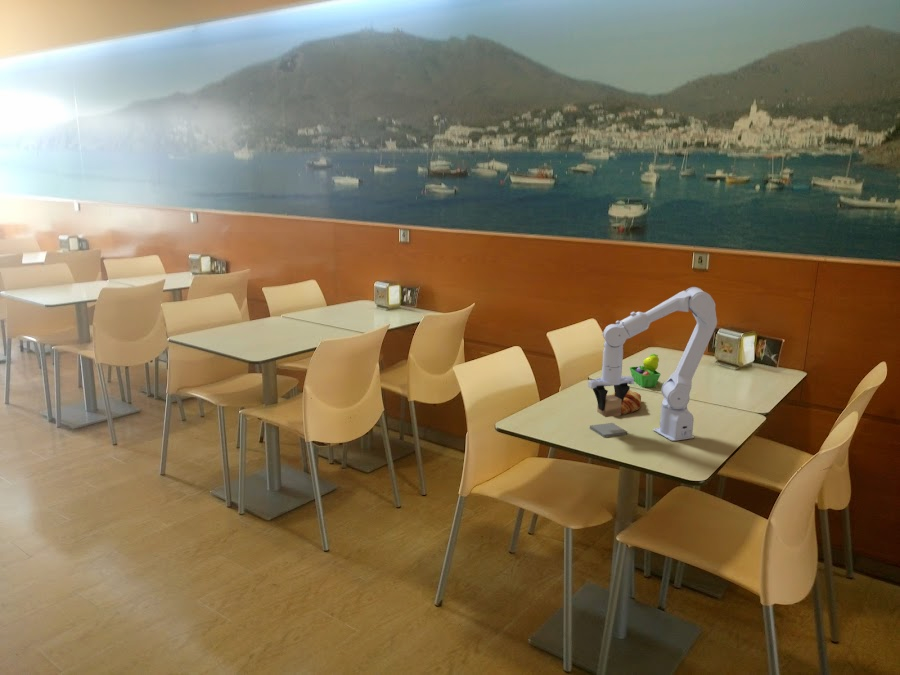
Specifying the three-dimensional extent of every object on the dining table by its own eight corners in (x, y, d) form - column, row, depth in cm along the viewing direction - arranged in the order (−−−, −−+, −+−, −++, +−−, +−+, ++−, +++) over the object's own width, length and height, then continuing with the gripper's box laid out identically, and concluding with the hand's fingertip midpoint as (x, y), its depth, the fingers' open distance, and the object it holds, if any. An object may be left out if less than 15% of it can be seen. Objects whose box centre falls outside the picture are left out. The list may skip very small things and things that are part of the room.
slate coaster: (627, 434, 204) (627, 431, 204) (603, 437, 202) (604, 434, 201) (612, 425, 212) (612, 422, 211) (589, 428, 209) (589, 425, 209)
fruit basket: (627, 379, 259) (629, 351, 257) (649, 378, 261) (651, 350, 258) (641, 388, 248) (643, 358, 246) (663, 387, 250) (666, 357, 247)
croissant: (629, 408, 238) (621, 387, 238) (655, 400, 231) (646, 378, 232) (603, 424, 221) (594, 401, 222) (630, 416, 215) (621, 392, 216)
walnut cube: (620, 415, 204) (621, 399, 203) (605, 417, 202) (606, 401, 201) (611, 410, 209) (612, 394, 207) (597, 411, 207) (598, 396, 206)
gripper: (625, 359, 208) (622, 402, 211) (583, 363, 203) (581, 406, 206) (639, 365, 201) (636, 409, 205) (596, 369, 197) (593, 414, 200)
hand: (609, 408), depth 205 cm, fingers closed on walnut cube, 5 cm apart
